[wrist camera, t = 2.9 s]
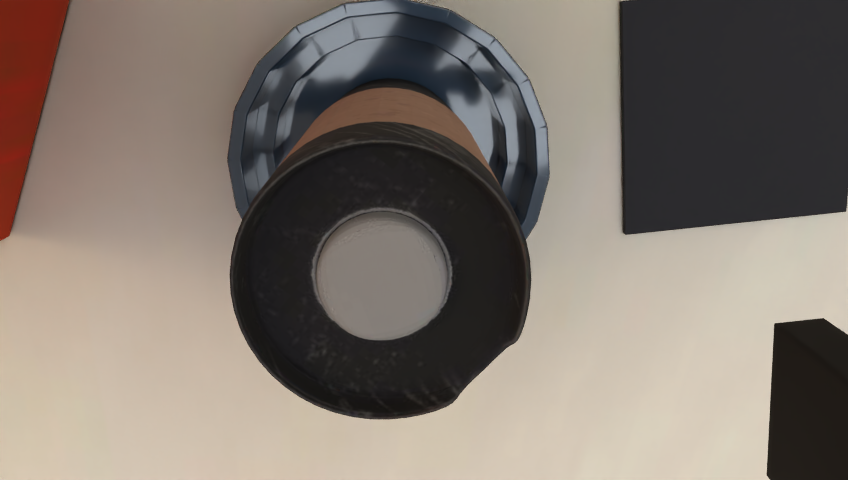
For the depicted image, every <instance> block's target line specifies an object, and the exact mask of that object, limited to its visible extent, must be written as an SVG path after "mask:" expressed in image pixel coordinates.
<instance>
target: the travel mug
mask: <svg viewBox="0 0 848 480" xmlns="http://www.w3.org/2000/svg"><path fill="white" fill-rule="evenodd" d="M230 289H231V298H232V303H233V308H234V312H235V315H236V318H237V321H238V324H239V327H240V329H241V331H242V333H243V335H244V337H245V339H246V341H247V343H248V345H249V347H250V348H251V350H252V351H253V353H254V354H255V356H256V357H257V359H258V360H259V362H260V363H261V364H262V365H263V366H264V367H265V368H266V369H267V371H268V372H269V373H270V374H271V375H272V376H273V377H274V378H275V379H277V380H278V381H279V382H280V383H281V384H282V385H283V386H285V387H286V388H287V389H289V390H290V391H292V392H293V393H295V394H296V395H298V396H299V397H301V398H302V399H304V400H306V401H308V402H310V403H312V404H314V405H316V406H318V407H321V408H324V409H326V410H329V411H332V412H334V413H339V414H343V415H347V416H351V417H358V418H365V419H398V418H407V417H412V416H418V415H423V414H426V413H430V412H433V411H437V410H439V409H442V408H444V407H447V406H448V405H450V404H452V403H453V402H454V401H455V400H456V399H457V397H458V396H459V395H460V393H461V392H462V391H463V390H464V388H465V387H466V386H467V385H468V384H469V383H470V382H471V381H472V380H473V379H474V378H475V377H476V376H477V375H479V374H480V373H481V372H482V371H483V370H484V369H485V368H486V367H487V366H488V365H489V364H490V363H491V362H492V361H493V360H494V359H495V358H496V357H497V356H498V355H499V354H500V353H502V352H503V351H504V350H505V349H506V348H507V347H509V346H510V345H512V344H514V343H515V342H516V341H517V340H518V339H519V337H520V335H521V333H522V330H523V327H524V324H525V320H526V316H527V312H528V306H529V300H530V289H531V268H530V258H529V253H528V248H527V243H526V239H525V236H524V233H523V231H522V228H521V225H520V222H519V220H518V218H517V216H516V214H515V212H514V210H513V208H512V206H511V204H510V202H509V201H508V199H507V197H506V195H505V193H504V192H503V190H502V188H501V186H500V185H499V183H498V181H497V179H496V177H495V176H494V174H493V172H492V170H491V168H490V167H489V165H488V163H487V161H486V159H485V158H484V156H483V154H482V152H481V150H480V149H479V147H478V145H477V143H476V141H475V140H474V138H473V136H472V134H471V133H470V131H469V130H468V129H467V127H466V126H465V124H464V123H463V122H462V121H461V120H460V119H459V117H458V116H457V115H456V114H455V113H454V112H453V111H452V110H451V109H450V108H449V107H448V106H447V105H446V104H445V102H444V101H443V100H442V99H441V98H439V97H438V96H437V95H436V94H435V93H433V92H432V91H431V90H429V89H427V88H426V87H424V86H422V85H420V84H417V83H415V82H412V81H408V80H404V79H397V78H385V79H377V80H373V81H369V82H367V83H364V84H362V85H360V86H358V87H356V88H354V89H352V90H351V91H349V92H348V93H347V94H345V95H344V96H343V97H341V98H340V99H339V100H337V101H336V102H335V103H334V104H332V105H331V106H330V107H328V108H327V109H326V110H325V111H324V112H323V113H322V114H321V115H320V116H319V117H318V118H317V119H316V120H315V121H314V122H313V123H312V124H311V126H310V127H309V128H308V130H307V131H306V132H305V133H304V135H303V136H302V137H301V139H300V140H299V141H298V142H297V144H296V145H295V146H294V147H293V149H292V150H291V151H290V153H289V154H288V155H287V156H286V158H285V159H284V160H283V162H282V163H281V164H280V165H279V167H278V168H277V169H276V170H275V172H274V173H273V174H272V176H271V177H270V178H269V179H268V181H267V182H266V183H265V184H264V186H263V187H262V188H261V190H260V191H259V192H258V194H257V195H256V196H255V198H254V199H253V201H252V202H251V204H250V206H249V208H248V210H247V211H246V213H245V215H244V217H243V219H242V222H241V224H240V227H239V229H238V232H237V235H236V238H235V242H234V246H233V251H232V255H231V266H230Z"/></svg>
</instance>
